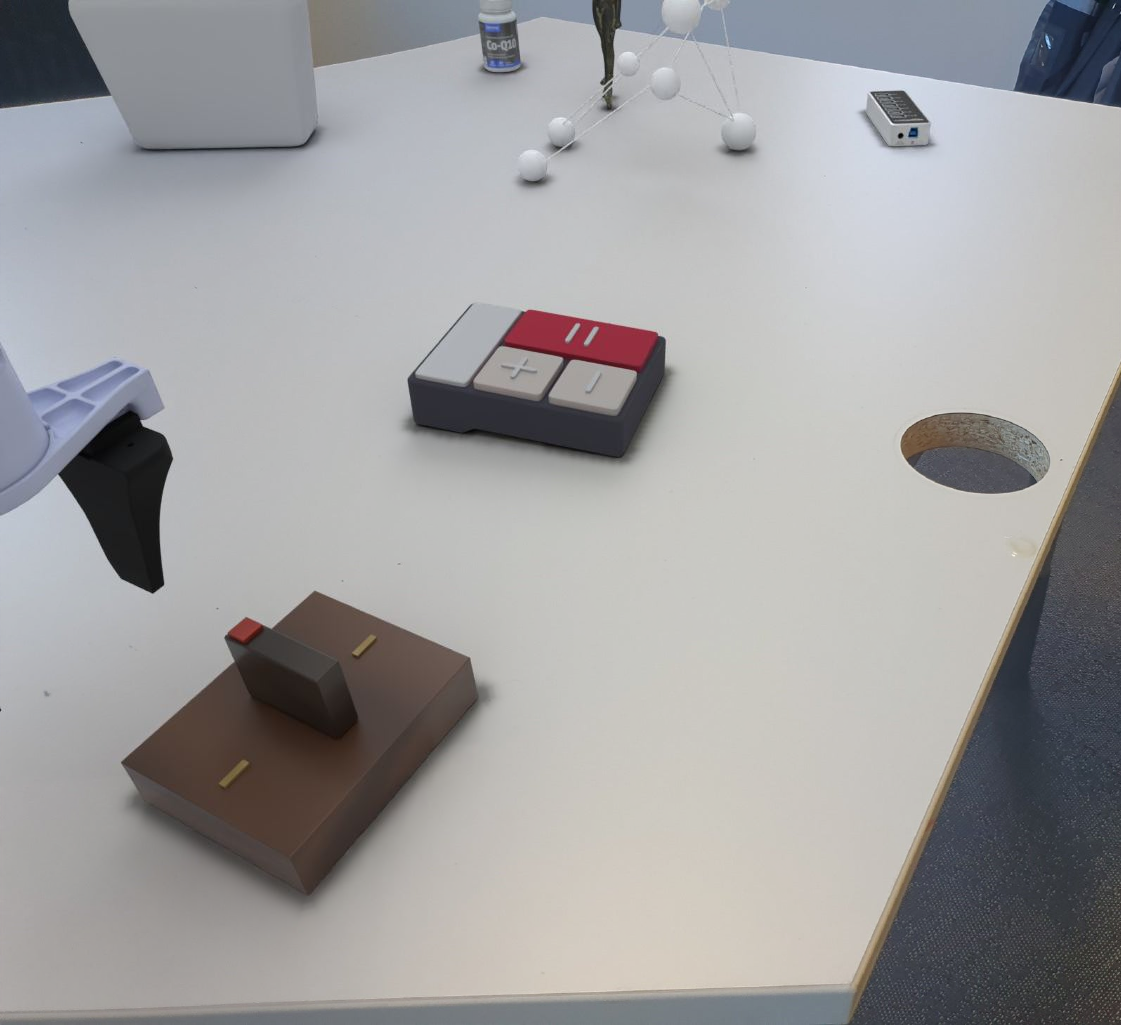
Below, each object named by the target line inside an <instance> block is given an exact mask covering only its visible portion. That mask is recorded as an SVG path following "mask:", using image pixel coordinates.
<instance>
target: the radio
mask: <svg viewBox="0 0 1121 1025" xmlns="http://www.w3.org/2000/svg"><path fill="white" fill-rule="evenodd" d="M68 11H69V15H70V17H71V19H72V21H73V23H74V25H75V27H76V29H77V31H78V33H79V35H80V37H81V40H82V41H83V42H84V44H85V47H86V49H87V50H88V53H89V54H90V57H91V58H92V61H93V63H94V64H95V66H96V68H97V70H98V72H99V74H100V76H101V78H102V80H103V82H104V84H105V86H106V88H107V90H108V92H109V93H110V96H111V97H112V99H113V101H114V104H115V106H116V107H117V109H118V111H119V113H120V115H121V118H122V119H123V121H124V123H125V125H126V128H127V129H128V131H129V133H130V135H131V137H132V139H133V141H134V142H135V143H136V144H137V146H139V147H140V148H142V149H147V150H187V149H189V150H190V149H193V150H194V149H195V150H196V149H237V148H239V149H241V148H242V149H243V148H280V147H282V148H284V147H285V148H287V147H289V148H290V147H299V146H302V145H305V143H306V142H307V141H309V139H310V137H311V135H312V134H313V132H314V130H315V129H316V127H317V126H318V124H319V111H318V102H317V89H316V80H315V78H316V77H315V70H314V69H315V66H314V56H313V49H312V47H313V46H312V45H313V44H312V36H311V24H310V13H309V3H308V0H68Z"/></svg>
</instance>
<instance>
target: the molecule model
mask: <svg viewBox="0 0 1121 1025" xmlns="http://www.w3.org/2000/svg"><path fill="white" fill-rule="evenodd" d="M702 2H703V4H702V5H701V2H700V0H663V3H662V5H661V19H662V22H663V24H664V25H665V27H666V28H664V30H663V31H662V32H661V33H660V34H659V35H658V36H657V37H656V38H655V39H654V40H653V41H651V43H649V44H648V45H647V46H646V47H644V49H643V50H641V52H640V53H638V54H635V53H634V52H631V51H624V52H622V53H620V55H619V56H618V58H617V60H616V67H617V70H618V73H616V74H615V75H613V76H614V77H613V78H612V79H611V80H610V81H609V82H608V83H607V84H605V85H602V87H601V88H600V89H599V90H598V91H596V93H594V94H593V95H592V96H591V97H590V98H588V100H586V101H585V102H584V103H583V104H582V105H581V106H579V108H578V109H577V110H575V111H574V112H573V113H572V114H571V115H570V116H569V117H568V118H567V117H561V116H559V117H555V118H553V119H552V120H551V121H550V122H549V124H548V126H547V128H546V129H547V130H546V132H547V134H546V135H547V137H548V139H549V141H550V143H551V144H553V145H554V146H556V147H559V148H560V149H559V150H558V151H556V152H555V153H553V154H552V155H551V156H549V157H548V158H546V157H545V156H544V155H543V153H541V152H540V151H538V150H536V149H528V150H525V151H523V152H522V153H521V154H520V155H519V157H518V159H517V164H516V167H517V171H518V173H519V175H520V176H521V177H522V178H523V179H524V180H526V181H529V182H538V181H540V180H541V179H543V178H544V177H545V175H546V173H547V171H548V161H549V160H551V159H552V158H553V157H555V156H556V155H557V154H559V153H560V152H562V151H563V150H564V149H566V148H567V147H569V146H570V145H571V144H573V143H574V142H576V141H577V140H579V138H581V137H583V136H584V135H586V133H588V132H589V131H591V130H592V129H594V128H595V127H596V126H598V125H599V124H600V123H602V122H604V121H605V120H606V119H607V118H609V117H610V116H612V115H613V114H615V113H616V112H617V111H618V110H620V109H621V108H623V107H624V106H625V105H627V104H629V102H631V101H632V100H634V99H635V98H636V97H638V96H639V95H640V94H642V93H643V92H645V91H646V90H648V89H649V88H650V90H651V93H652V94H653V95H654V97H656V99H658V100H661V101H670V100H673V99H674V98H676V97H677V96H678V97H681V98H683V99H686V100H688V101H690V102H691V103H694V104H697V105H699V106H701V107H703V108H705V109H707V110H709V111H712V112H713V113H716V114H718V115H720V116H722V117H723V118H726V119H724V121H723V122H722V125H721V129H720V134H721V139H722V142H723V143H724V144H725V145H726V147H728V149H730V150H733V151H743V150H746V149H748V148H749V147H750V146H752V144H754V142H755V140H756V136H757V126H756V124H755V121H754V120H753V118H752V117H751V116H749V114H746V113H743V112H741V108H740V101H739V96H738V91H737V84H736V79H735V78H736V77H735V72H734V67H733V61H732V56H731V50H730V44H729V39H728V33H727V28H726V22H725V21H726V20H725V15H724V11H723V10H725V9H726V8H727V7H728V5H729V4H730V3H731V0H702ZM705 7H707V8H708V9H710V10H712V11H720V12H721V18H722V24H723V28H724V30H723V31H724V35H725V40H726V45H727V46H726V47H727V53H728V58H729V63H730V68H731V69H730V70H731V74H732V80H733V85H734V92H735V97H736V103H737V109H738V112H734V113H732V111H731V109H730V107H729V105H728V103H727V101H726V99H725V96H724V94H723V92H722V91H721V89H720V87H719V85H718V82H717V80H716V78H715V77H714V74H713V72H712V70H711V68H710V65H709V64H708V61H707V60H706V58H705V55H704V53H703V52H702V50H701V48H700V45H699V43H698V41H697V39H696V37H695V36H694V33H693V31H694V30H695V29H696V28H697V27H698V25H699V24H700V22H701V18H702V12H703V10H704V8H705ZM668 31H670V32H671V33H673V34H677V35H686V36H685V37H684V39H683V41H682V42H681V45H680V46H679V48H678V50H677V52H676V54H675V56H673V59H672V61H671V63H670V64H669V66H661V67H659V68H657V69H656V70H654V72H653V73H652V75H651V77H650V81H649V84H648V85H647V86H646V87H645V88H643V89H642V90H641V91H639V92H637V93H636V94H635V95H634V96H632V97H631V98H629V99H628V100H627V101H625V102H624V103H623V104H621V105H620V106H618V107H617V108H616V109H614V110H613V111H612V112H610V113H609V114H607V115H606V116H605V117H603V118H602V119H600V120H599V121H597V122H596V123H595V124H594V125H591V127H589V128H588V129H587V130H585V131H584V132H582V133H581V134H579V135H578V136H577V137H575V136H576V129H575V126H576V125H577V124H578V122H579V121H581V120H582V118H583V117H585V115H587V113H588V112H589V111H590V110H592V108H593V107H594V106H595V105H596V104H597V103H598V102H599V101H600V100H601V99H602V98H603V97H602V96H603V95H604V94H605V93H606V92H607V91H608V90H609V89H610V88H611V87H612V88H613V86H614V85H615V84H617V82H618V81H619V80H620V79H621V78H622V77H623V76H624V77H626V78H627V77H633V76H634V75H636V74H637V73H638V72H639V69H640V65H641V63H640V59H641V57H642V56H644V54H645V53H646V52H647V51H648V50H650V48H651V47H652V46H653V45H654V44H655V43H656V42H657V41H658V40H659V39H660V38H662V36H663V35H665V33H667V32H668ZM690 35H691V36H692V39H693V42H694V43H695V45H696V47H697V49H698V51H699V53H700V56H701V57H702V59H703V61H704V64H705V65H706V67H707V69H708V72H709V74H710V76H711V78H712V79H713V82H714V83H715V86H716V88H717V90H718V92H719V94H720V96H721V98H722V101H723V103H724V104H725V106H726V108H727V110H728V112H729V114H730V115H726V114H724V113H721V112H719V111H717V110H715V109H713V108H710V107H708V106H706V105H704V104H702V103H700V102H698V101H695V100H693V99H691V98H690V97H687V96H685V95H682V94H681V93H679V92H680V91H681V86H682V82H681V77H680V75H679V74H678V72H677V71H676V70H675V69H673V68H672V66H673V64H674V62H675V61H676V59H677V57H678V55H679V53H680V51H681V49H682V48H683V46H684V44H685V42H686V40H687V39H688V37H689V36H690ZM619 75H620V76H619ZM618 76H619V77H618ZM617 77H618V78H617ZM614 79H615V80H614ZM612 80H613V84H612V85H611V86H610V87H609V88H608V89H607V90H606V91H605V92H604V93H603V92H602V90H604V87H606V86H607V85H608V84H609V83H610V82H611V81H612ZM600 92H602V94H601V95H600V96H599V97H598V98H597V99H596V100H595V102H593V103H592V105H591V106H590V107H588V109H586V111H585V112H583V114H582V115H581V116H580V117H579V118H578V119H577V120H576V121H575V122H574V123H573V122H572V121H571V120H570V119H571V118H573V117H574V116H575V115H576V114H577V113H578V112H579V111H580V110H582V109H583V108H584V107H585V106H586V105H587V104H588V103H589V102H590V101H591V100H593V98H595V97H596V96H597V95H598V94H599V93H600Z"/></svg>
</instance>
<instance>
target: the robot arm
mask: <svg viewBox="0 0 1121 1025" xmlns="http://www.w3.org/2000/svg"><path fill="white" fill-rule="evenodd" d="M163 410H165V404H164V402H163V400H162V397H161V395H160V393H159V391H158V388H157V385H156V383H155V381H154V379H153V376H152V374H151V371H150V369H149V368H148V367H144V366H141V365H139V364H136V363H133V362H130V361H127V360H124V359H121V358H119V357H117V356H116V357H115V356H114V357H112V358H110V359H108V360H107V361H104V362H102V363H100V364H98V365H96V366H94V367H92V368H89V369H87V370H85V371H83V372H80V373H78V374H75V375H73V376H70V377H67V378H64V379H61V380H58V381H55V382H53V383H50V384H47V385H44V386H41V387H38V388H35V389H33V390H29V391H26V389H25V387H24V385H23V383H22V382H21V379H20V378H19V376H18V374H17V372H16V370H15V368H14V367H13V364H12V362H11V361H10V358H9V356H8V354H7V352H6V350H5V348H4V346H3V344H2V342H1V341H0V517H1V516H4V515H6V514H8V513H10V512H12V511H13V510H16V509H17V508H19V507H20V506H22V505H23V504H25V503H27V502H28V501H30V500H31V499H33V498H34V497H35V496H36V495H38V494H39V493H41V492H42V491H43V490H44V489H45V488H46V487H47V486H48V485H49V484H50V483H51V482H52V481H53V480H54V479H55V478H56V477H57V476H58V477H59V478H60V479H61V481H62V483H64V485H65V486H66V488H67V489H68V491H69V492H70V494H71V495H72V496H73V498H74V500H75V501H76V502H77V505H78V506H79V507H80V508H81V510H82V512H83V513H84V515H85V517H86V519H87V521H88V523H89V525H90V527H91V529H92V531H93V533H94V535H95V537H96V539H97V541H98V543H99V545H100V547H101V550H102V551H103V553H104V556H105V558H106V560H107V561H108V563H109V564H110V566H111V567H112V569H113V570H114V571H115V573H116V574H117V576H118V577H119V579H120V580H122V581H124V582H126V583H129V584H131V585H133V586H135V587H137V588H139V589H141V590H144V591H146V592H148V593H149V594H152V595H154V594H155V593H156V592H158V591H159V590H160V589H161V588H163V587H164V586H165V577H164V568H163V560H162V547H161V508H162V501H163V495H164V489H165V485H166V482H167V479H168V478H167V477H168V474H169V472H170V469H171V466H172V463H173V461H174V457H173V453H172V452H173V451H172V449H171V447H170V444H169V442H168V440H167V438H166V436H165V434H163V433H161V432H159V431H158V430H157V431H156V430H154V429H151V428H149V427H146V426H144V424H143V423H142V421H146V420H149V419H151V418H152V417H154V416H155V415H157V414H158V413H160V412H162V411H163ZM2 711H3V710H2V708H1V707H0V712H2Z"/></svg>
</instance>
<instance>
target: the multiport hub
mask: <svg viewBox="0 0 1121 1025" xmlns="http://www.w3.org/2000/svg"><path fill="white" fill-rule="evenodd" d="M865 114H866V115H867V117H868V118H869V120H870V121H871V123H872V124H873V125H874V127H875V128H876V130H877V131H878V133H879V134H880V136H881V137H882V138H883V140H884V142H885V143H886V145H887V146H889V147H908V146H909V147H911V146H927V145H928V143H929V139H930V132H931V126H932V122H931V121H930V120H929V118H928V117H927V115H925V114H924V112H923V110H921V108H920V107H919V106H918V105H917V104H916V102H915V100H913V99H912V97H911V96H910V95H909V94H908V92H907V91H906V90H901V89H900V90H898V89H897V90H875V91H874V90H873V91H868V92H867V100H866V107H865Z"/></svg>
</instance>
